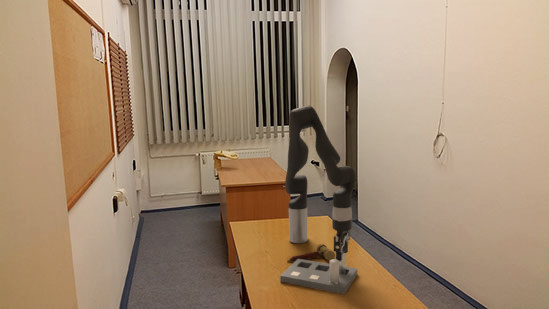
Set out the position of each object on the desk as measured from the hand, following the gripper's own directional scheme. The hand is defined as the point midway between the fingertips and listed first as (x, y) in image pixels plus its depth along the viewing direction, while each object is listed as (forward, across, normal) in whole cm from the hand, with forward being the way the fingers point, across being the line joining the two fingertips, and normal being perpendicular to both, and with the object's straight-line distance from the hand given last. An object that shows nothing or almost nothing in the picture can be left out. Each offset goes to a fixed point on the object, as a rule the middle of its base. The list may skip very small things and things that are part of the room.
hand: (342, 256), depth 161 cm
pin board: (+9, +4, -8) cm, 13 cm away
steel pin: (+9, 0, 0) cm, 9 cm away
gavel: (+10, -12, -19) cm, 24 cm away
